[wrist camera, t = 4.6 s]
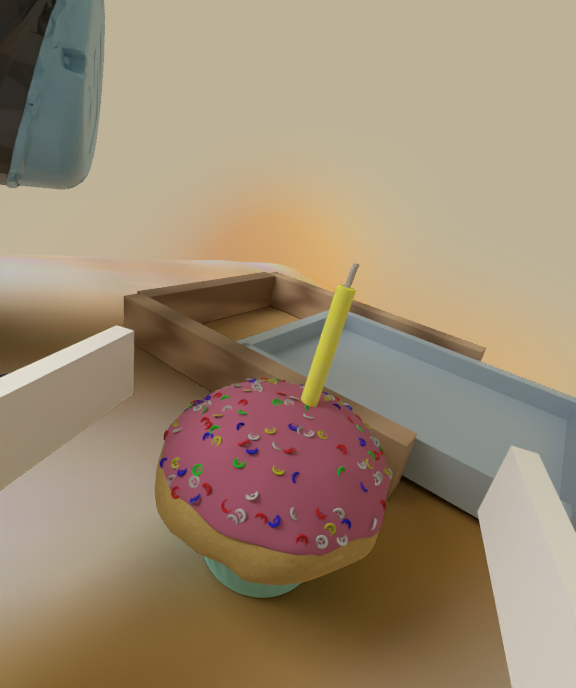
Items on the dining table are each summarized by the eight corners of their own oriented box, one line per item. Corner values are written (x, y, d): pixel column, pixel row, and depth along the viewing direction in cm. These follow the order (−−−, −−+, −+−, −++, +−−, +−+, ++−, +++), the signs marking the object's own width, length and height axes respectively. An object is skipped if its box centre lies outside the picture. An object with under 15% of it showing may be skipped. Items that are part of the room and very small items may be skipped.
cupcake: (263, 450, 22) (303, 233, 17) (397, 556, 17) (506, 297, 12) (111, 534, 16) (105, 232, 11) (254, 738, 11) (358, 360, 6)
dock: (120, 335, 31) (120, 293, 30) (268, 299, 46) (273, 270, 45) (386, 501, 20) (406, 446, 18) (471, 383, 35) (486, 348, 33)
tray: (226, 374, 28) (231, 336, 27) (332, 330, 39) (338, 302, 38) (575, 574, 17) (609, 527, 16) (579, 433, 29) (599, 399, 28)
